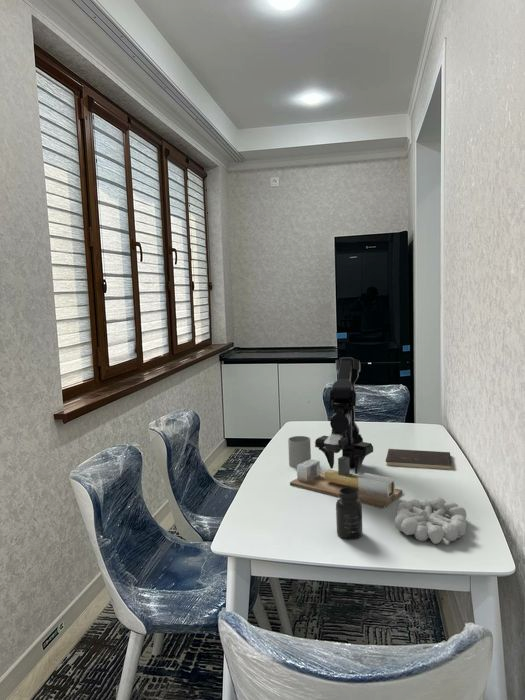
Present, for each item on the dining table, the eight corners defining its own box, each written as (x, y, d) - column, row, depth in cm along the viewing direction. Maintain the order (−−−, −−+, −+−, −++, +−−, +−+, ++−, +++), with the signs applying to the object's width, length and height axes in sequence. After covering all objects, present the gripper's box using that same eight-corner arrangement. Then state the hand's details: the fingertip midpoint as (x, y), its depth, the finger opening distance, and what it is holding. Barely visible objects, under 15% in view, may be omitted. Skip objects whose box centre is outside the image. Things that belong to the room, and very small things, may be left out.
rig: (310, 473, 179) (309, 458, 179) (396, 492, 159) (396, 476, 158) (297, 480, 173) (296, 465, 172) (385, 501, 153) (385, 484, 152)
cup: (313, 462, 194) (312, 436, 193) (308, 469, 186) (307, 442, 185) (292, 460, 197) (291, 435, 196) (286, 467, 189) (285, 441, 188)
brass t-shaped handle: (329, 477, 171) (329, 453, 170) (391, 491, 157) (391, 465, 156) (324, 480, 169) (324, 455, 168) (387, 495, 155) (387, 468, 154)
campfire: (491, 542, 128) (490, 519, 127) (413, 552, 124) (412, 529, 124) (446, 508, 149) (445, 489, 149) (378, 516, 146) (377, 497, 146)
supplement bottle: (334, 529, 138) (333, 486, 136) (358, 527, 138) (357, 485, 137) (339, 541, 131) (338, 496, 130) (365, 539, 131) (365, 494, 130)
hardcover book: (451, 471, 180) (451, 465, 180) (385, 466, 187) (385, 460, 187) (449, 457, 195) (449, 451, 195) (388, 453, 202) (388, 448, 202)
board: (312, 472, 182) (312, 470, 182) (402, 493, 161) (402, 490, 161) (289, 484, 171) (289, 482, 171) (382, 508, 150) (382, 505, 150)
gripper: (305, 426, 164) (306, 472, 165) (356, 434, 152) (357, 484, 153) (323, 418, 172) (324, 463, 174) (373, 425, 160) (374, 473, 162)
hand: (344, 470), depth 165 cm, fingers open, 9 cm apart
